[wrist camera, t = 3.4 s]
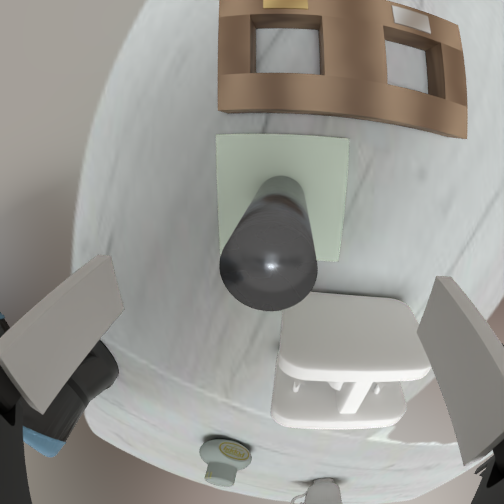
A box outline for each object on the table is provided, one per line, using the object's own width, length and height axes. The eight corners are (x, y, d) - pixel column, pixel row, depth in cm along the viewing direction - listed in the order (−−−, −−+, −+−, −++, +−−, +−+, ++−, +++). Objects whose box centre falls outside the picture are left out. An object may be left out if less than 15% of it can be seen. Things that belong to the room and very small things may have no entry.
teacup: (297, 474, 52) (294, 505, 43) (350, 473, 51) (351, 503, 42) (289, 485, 57) (286, 512, 48) (336, 485, 56) (336, 511, 47)
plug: (257, 220, 26) (222, 307, 13) (257, 174, 24) (217, 221, 12) (303, 223, 25) (311, 313, 13) (306, 176, 24) (322, 226, 11)
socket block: (227, 113, 23) (217, 110, 19) (228, 6, 18) (219, -10, 15) (448, 137, 20) (468, 139, 17) (442, 33, 15) (459, 24, 12)
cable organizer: (410, 294, 28) (448, 365, 17) (383, 359, 32) (401, 429, 21) (285, 284, 29) (278, 364, 19) (275, 353, 34) (266, 430, 23)
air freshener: (259, 447, 46) (253, 486, 37) (240, 456, 50) (233, 491, 41) (213, 430, 45) (201, 471, 36) (198, 440, 49) (186, 476, 40)
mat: (221, 252, 29) (219, 254, 28) (217, 134, 24) (215, 134, 23) (337, 259, 27) (338, 261, 27) (348, 138, 22) (349, 138, 22)
